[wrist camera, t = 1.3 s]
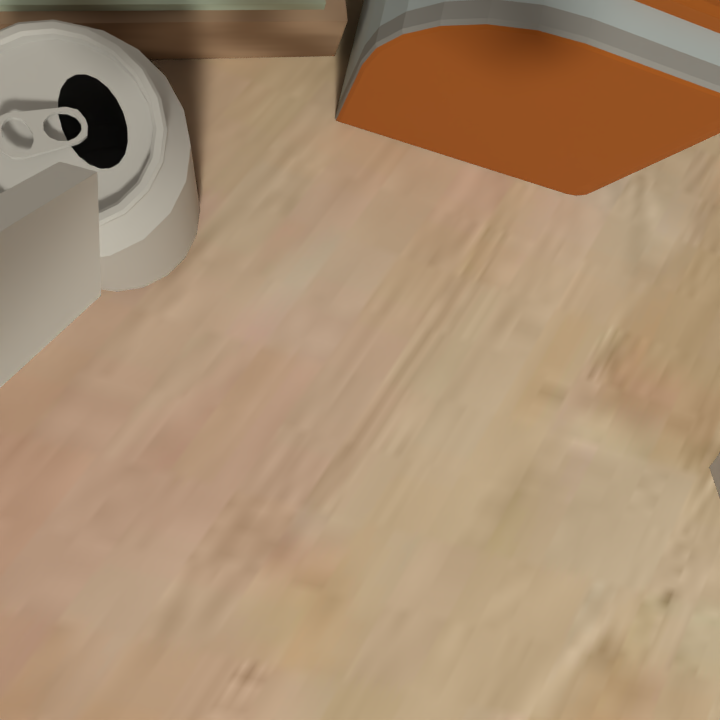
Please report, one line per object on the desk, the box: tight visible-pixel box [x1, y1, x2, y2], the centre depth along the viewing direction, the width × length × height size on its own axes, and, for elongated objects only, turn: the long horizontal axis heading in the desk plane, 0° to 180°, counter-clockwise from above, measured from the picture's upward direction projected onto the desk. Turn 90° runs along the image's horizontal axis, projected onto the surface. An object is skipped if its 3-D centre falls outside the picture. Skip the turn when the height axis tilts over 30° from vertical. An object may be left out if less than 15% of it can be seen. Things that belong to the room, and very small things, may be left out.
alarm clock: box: [335, 0, 720, 195], centre depth 28 cm, size 15×8×14 cm, turn 76°
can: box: [0, 19, 200, 292], centre depth 25 cm, size 8×8×12 cm
